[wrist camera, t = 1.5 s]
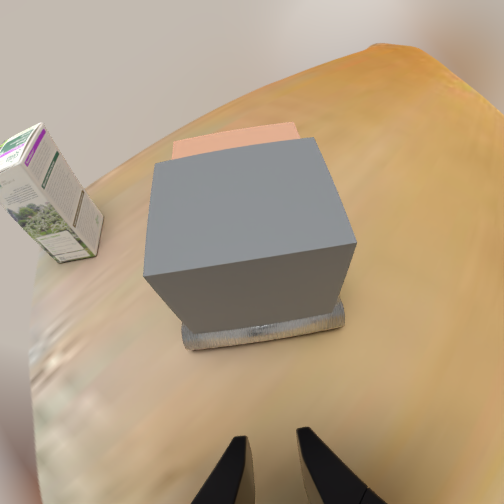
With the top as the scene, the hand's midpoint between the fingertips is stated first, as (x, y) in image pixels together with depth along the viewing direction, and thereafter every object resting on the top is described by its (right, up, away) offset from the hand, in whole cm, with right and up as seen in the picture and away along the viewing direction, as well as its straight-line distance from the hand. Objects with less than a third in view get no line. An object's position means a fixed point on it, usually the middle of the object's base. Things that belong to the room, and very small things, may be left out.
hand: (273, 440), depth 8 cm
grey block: (0, +4, +15) cm, 16 cm away
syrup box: (-20, +7, +23) cm, 31 cm away
